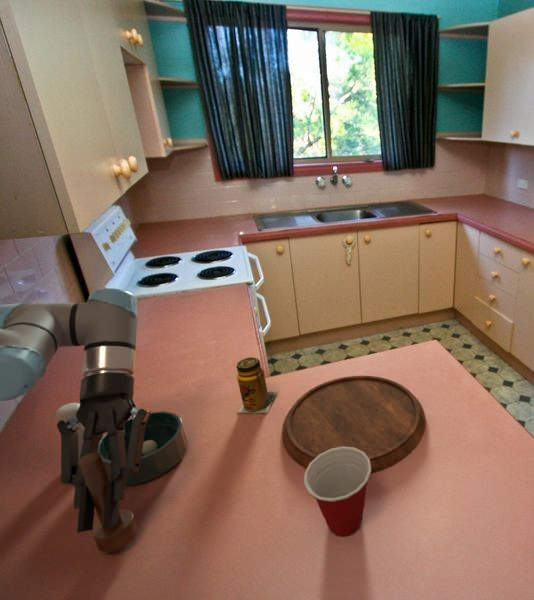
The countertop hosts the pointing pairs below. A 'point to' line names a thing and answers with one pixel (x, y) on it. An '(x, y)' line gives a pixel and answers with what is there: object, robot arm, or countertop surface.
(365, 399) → the cutting board
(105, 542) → the wooden masher
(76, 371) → the countertop surface
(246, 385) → the condiment
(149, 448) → the cream ball
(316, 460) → the plastic cup
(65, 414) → the salt shaker
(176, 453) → the bowl
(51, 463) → the countertop surface
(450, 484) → the countertop surface
